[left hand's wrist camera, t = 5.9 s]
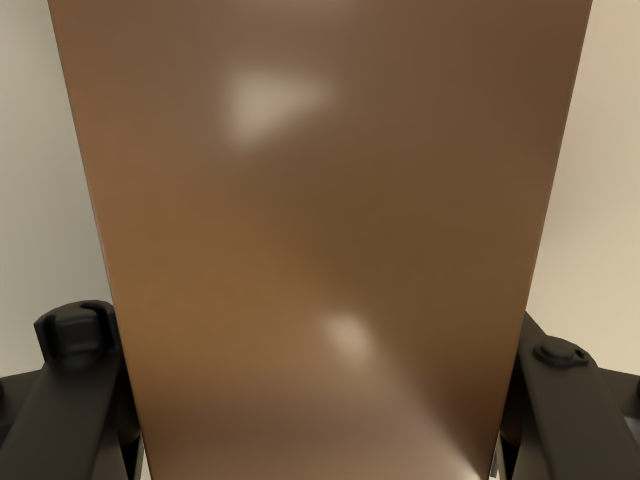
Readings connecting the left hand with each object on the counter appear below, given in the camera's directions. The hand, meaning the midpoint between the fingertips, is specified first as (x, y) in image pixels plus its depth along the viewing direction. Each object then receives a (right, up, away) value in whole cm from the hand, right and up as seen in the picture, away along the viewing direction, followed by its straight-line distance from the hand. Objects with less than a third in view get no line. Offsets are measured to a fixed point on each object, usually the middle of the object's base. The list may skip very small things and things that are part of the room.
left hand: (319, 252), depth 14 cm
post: (0, +31, -12) cm, 33 cm away
